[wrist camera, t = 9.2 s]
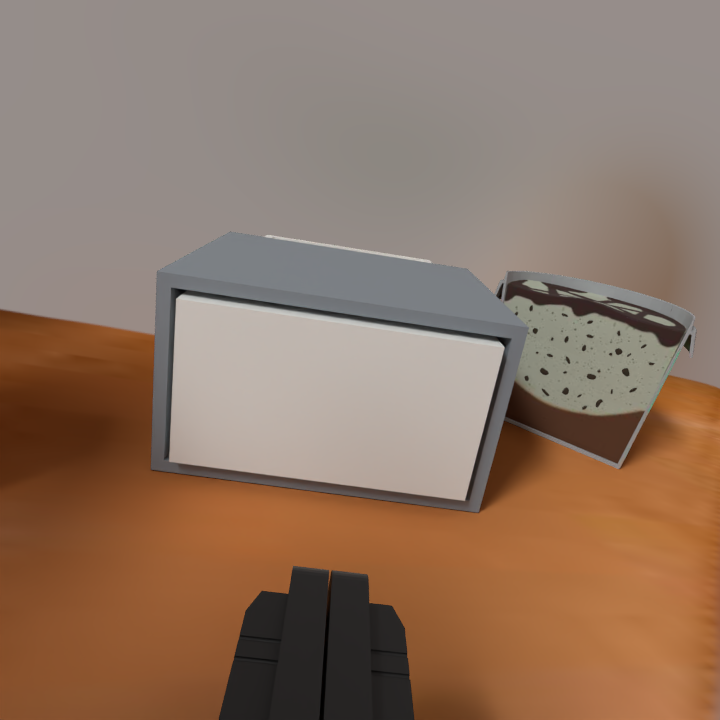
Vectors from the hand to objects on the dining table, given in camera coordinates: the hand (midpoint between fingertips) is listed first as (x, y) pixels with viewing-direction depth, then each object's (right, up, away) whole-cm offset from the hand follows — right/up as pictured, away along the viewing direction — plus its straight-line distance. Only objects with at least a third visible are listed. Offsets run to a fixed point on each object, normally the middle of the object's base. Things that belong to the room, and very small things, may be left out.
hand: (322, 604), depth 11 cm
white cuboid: (-1, +3, +26) cm, 27 cm away
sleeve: (-1, +1, +22) cm, 22 cm away
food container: (+15, 0, +28) cm, 32 cm away
